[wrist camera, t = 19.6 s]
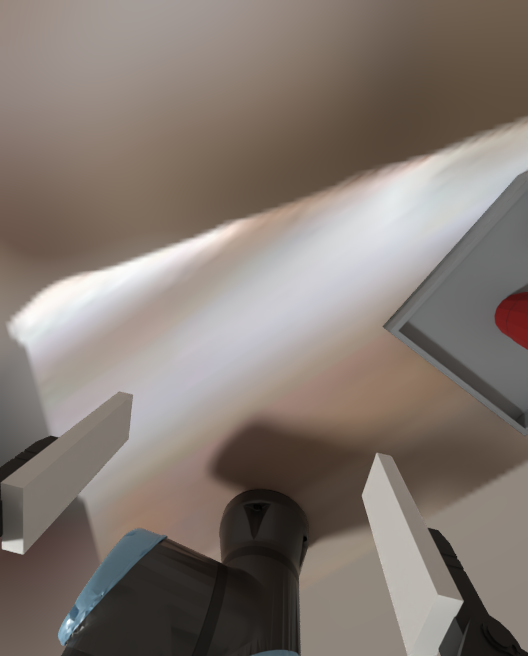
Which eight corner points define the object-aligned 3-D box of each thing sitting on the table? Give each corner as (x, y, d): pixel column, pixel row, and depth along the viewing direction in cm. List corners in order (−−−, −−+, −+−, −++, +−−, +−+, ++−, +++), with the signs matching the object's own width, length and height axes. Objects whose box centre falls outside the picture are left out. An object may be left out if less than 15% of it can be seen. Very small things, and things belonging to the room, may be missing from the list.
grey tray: (509, 424, 43) (524, 436, 41) (382, 326, 42) (389, 331, 39) (658, 294, 38) (689, 297, 35) (517, 175, 36) (537, 168, 33)
